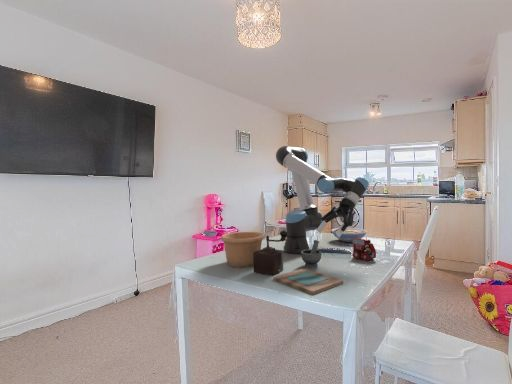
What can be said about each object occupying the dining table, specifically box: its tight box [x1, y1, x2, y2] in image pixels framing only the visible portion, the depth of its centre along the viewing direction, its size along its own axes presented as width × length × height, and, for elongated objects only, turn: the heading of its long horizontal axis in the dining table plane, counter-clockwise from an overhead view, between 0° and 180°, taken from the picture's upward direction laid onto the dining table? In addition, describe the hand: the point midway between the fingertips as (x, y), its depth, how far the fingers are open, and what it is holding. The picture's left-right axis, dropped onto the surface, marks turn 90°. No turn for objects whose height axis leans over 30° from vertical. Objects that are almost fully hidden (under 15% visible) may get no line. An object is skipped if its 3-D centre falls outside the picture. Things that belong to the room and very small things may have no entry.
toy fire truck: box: [352, 238, 377, 262], centre depth 156 cm, size 7×12×10 cm, turn 42°
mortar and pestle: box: [300, 239, 322, 269], centre depth 146 cm, size 11×9×12 cm
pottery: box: [220, 231, 265, 268], centre depth 154 cm, size 22×22×14 cm
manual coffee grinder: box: [253, 230, 288, 277], centre depth 141 cm, size 16×11×18 cm
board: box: [272, 268, 344, 295], centre depth 124 cm, size 22×18×1 cm
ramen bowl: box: [330, 227, 368, 243], centre depth 201 cm, size 25×23×8 cm
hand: (327, 233), depth 151 cm, fingers open, 13 cm apart
